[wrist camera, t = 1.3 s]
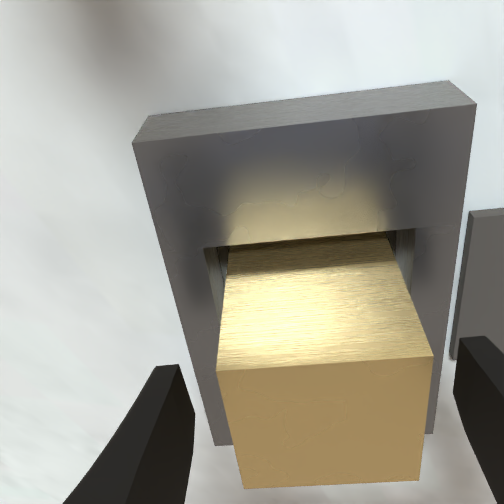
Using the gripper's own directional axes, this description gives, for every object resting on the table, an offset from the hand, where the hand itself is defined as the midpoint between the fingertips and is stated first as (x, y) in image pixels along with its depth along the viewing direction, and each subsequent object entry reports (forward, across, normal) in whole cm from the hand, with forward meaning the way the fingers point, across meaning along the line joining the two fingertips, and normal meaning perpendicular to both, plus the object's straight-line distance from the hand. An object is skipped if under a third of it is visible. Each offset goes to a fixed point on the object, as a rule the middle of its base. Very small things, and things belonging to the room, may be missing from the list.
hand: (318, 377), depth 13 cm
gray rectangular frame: (+4, 0, 0) cm, 4 cm away
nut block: (+4, 0, 0) cm, 4 cm away
